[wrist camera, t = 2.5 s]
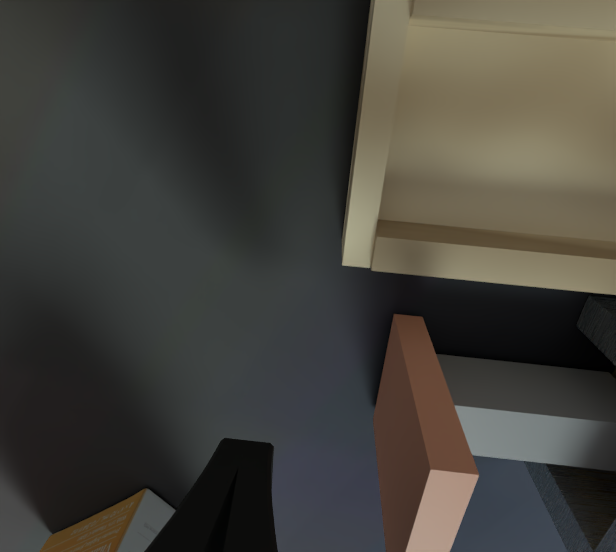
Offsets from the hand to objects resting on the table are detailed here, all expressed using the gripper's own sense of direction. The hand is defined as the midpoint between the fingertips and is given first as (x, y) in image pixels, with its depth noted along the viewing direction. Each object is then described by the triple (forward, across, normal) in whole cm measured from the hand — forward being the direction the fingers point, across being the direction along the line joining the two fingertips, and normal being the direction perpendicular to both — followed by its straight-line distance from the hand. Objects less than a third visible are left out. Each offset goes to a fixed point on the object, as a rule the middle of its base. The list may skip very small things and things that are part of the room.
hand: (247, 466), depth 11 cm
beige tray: (+5, -9, -8) cm, 13 cm away
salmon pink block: (+5, -8, 0) cm, 9 cm away
